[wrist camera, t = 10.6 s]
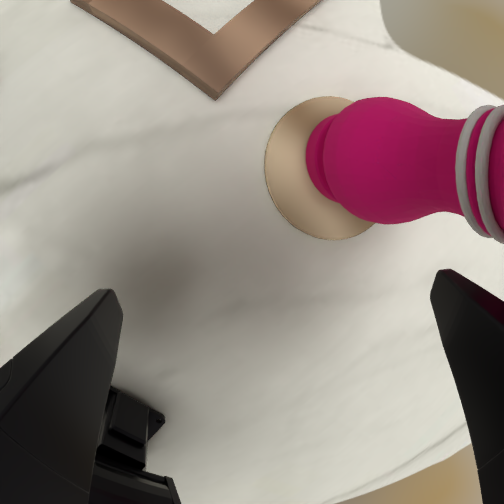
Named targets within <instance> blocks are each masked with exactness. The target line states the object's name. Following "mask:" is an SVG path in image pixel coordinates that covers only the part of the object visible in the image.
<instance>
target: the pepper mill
mask: <svg viewBox="0 0 504 504" xmlns="http://www.w3.org/2000/svg"><path fill="white" fill-rule="evenodd" d="M306 166H307V170H308V174H309V176H310V179H311V181H312V182H313V184H314V186H315V187H316V188H317V190H318V191H319V192H320V193H321V194H322V195H324V196H325V197H326V198H328V199H330V200H332V201H334V202H337V203H340V204H341V205H342V206H343V207H344V208H345V209H346V210H347V211H349V212H350V213H351V214H353V215H355V216H356V217H358V218H360V219H363V220H366V221H369V222H375V223H380V224H399V223H405V222H410V221H413V220H416V219H419V218H422V217H424V216H427V215H430V214H433V213H436V212H445V211H446V212H451V213H456V214H459V215H461V216H464V217H465V219H466V220H467V222H468V224H469V225H470V226H471V227H472V229H473V230H474V231H475V232H477V233H478V234H479V235H481V236H483V237H487V238H494V239H495V240H496V241H498V242H500V243H503V244H504V105H501V106H498V107H495V106H492V105H485V106H481V107H479V108H477V109H476V110H475V111H473V112H472V113H471V114H470V116H469V117H468V118H467V119H460V120H455V119H441V118H437V117H434V116H432V115H430V114H428V113H427V112H425V111H423V110H422V109H420V108H418V107H416V106H414V105H412V104H410V103H408V102H405V101H401V100H398V99H393V98H388V97H374V98H366V99H362V100H358V101H356V102H354V103H352V104H350V105H349V106H347V107H345V108H344V109H343V110H342V111H341V112H340V113H338V114H334V115H332V116H329V117H327V118H325V119H324V120H322V121H321V122H320V123H319V124H318V125H317V126H316V127H315V129H314V130H313V132H312V133H311V135H310V137H309V140H308V143H307V147H306Z"/></svg>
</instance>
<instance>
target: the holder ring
mask: <svg viewBox="0 0 504 504" xmlns="http://www.w3.org/2000/svg"><path fill="white" fill-rule="evenodd" d="M70 1H71V3H73V4H75V5H77V6H78V7H80V8H82V9H83V10H85V11H87V12H88V13H90V14H92V15H93V16H95V17H97V18H98V19H100V20H102V21H103V22H105V23H106V24H108V25H109V26H111V27H113V28H114V29H116V30H117V31H119V32H120V33H122V34H123V35H125V36H126V37H128V38H130V39H131V40H133V41H134V42H135V43H137V44H138V45H140V46H141V47H143V48H144V49H146V50H147V51H149V52H150V53H152V54H153V55H154V56H156V57H157V58H159V59H160V60H162V61H163V62H164V63H166V64H167V65H168V66H170V67H171V68H173V69H174V70H175V71H177V72H178V73H179V74H181V75H182V76H184V77H185V78H186V79H188V80H189V81H190V82H192V83H193V84H194V85H195V86H197V87H198V88H199V89H201V90H202V91H203V92H205V93H206V94H207V95H208V96H210V97H211V98H212V99H214V100H216V99H217V98H218V97H219V96H220V95H221V94H222V93H223V92H224V91H225V90H226V89H227V88H228V87H229V85H230V84H231V83H232V82H233V81H234V80H235V79H236V78H237V77H238V76H239V75H240V74H241V73H242V72H243V71H244V70H245V69H246V68H247V67H248V66H249V65H250V64H251V63H252V62H253V61H254V60H255V59H256V58H257V57H258V56H259V55H260V54H261V53H262V52H264V51H265V50H266V49H267V48H268V47H269V46H270V45H271V44H272V43H273V42H274V41H275V40H276V39H277V38H278V37H280V36H281V35H282V34H283V33H284V32H285V31H286V30H287V29H288V28H290V27H291V26H292V25H293V24H294V23H295V22H296V21H298V20H299V19H300V18H301V17H302V16H303V15H305V14H306V13H307V12H308V11H309V10H311V9H312V8H313V7H314V6H315V5H317V4H318V3H319V2H320V1H321V0H254V1H253V2H252V3H251V4H249V5H248V6H247V7H246V8H244V9H243V10H242V11H241V12H240V13H238V14H237V15H236V16H235V17H234V18H233V19H231V20H230V21H229V22H228V23H227V24H226V25H224V26H223V27H222V28H221V29H220V30H219V31H218V32H217V33H215V34H212V33H211V32H209V31H208V30H207V29H205V28H204V27H202V26H201V25H199V24H198V23H196V22H195V21H193V20H192V19H190V18H189V17H187V16H186V15H184V14H183V13H181V12H180V11H178V10H177V9H175V8H174V7H172V6H170V5H169V4H167V3H166V2H164V1H162V0H70Z"/></svg>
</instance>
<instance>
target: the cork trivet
mask: <svg viewBox="0 0 504 504" xmlns="http://www.w3.org/2000/svg"><path fill="white" fill-rule="evenodd" d="M352 103H354V102H352V101H350V100H347V99H344V98H340V97H332V96H328V97H318V98H313V99H310V100H307V101H305V102H303V103H301V104H299V105H297V106H295V107H294V108H293V109H291V110H290V111H288V112H287V113H286V114H285V115H284V116H283V117H282V118H281V120H280V121H279V122H278V123H277V125H276V126H275V128H274V130H273V132H272V134H271V136H270V139H269V141H268V144H267V149H266V154H265V176H266V182H267V186H268V189H269V192H270V195H271V197H272V199H273V201H274V203H275V205H276V207H277V208H278V210H279V211H280V212H281V214H282V215H283V216H284V217H285V218H286V219H287V220H288V221H289V222H290V223H291V224H292V225H294V226H295V227H296V228H298V229H299V230H301V231H303V232H305V233H307V234H309V235H312V236H314V237H317V238H321V239H326V240H342V239H347V238H351V237H354V236H356V235H359V234H361V233H362V232H364V231H366V230H367V229H369V228H370V227H371V226H372V225H373V224H374V223H375V222H369V221H366V220H363V219H360V218H358V217H356V216H355V215H353V214H351V213H350V212H349V211H347V210H346V209H345V208H344V207H343V206H342V205H341V204H340V203H337V202H334V201H332V200H330V199H328V198H326V197H325V196H324V195H322V194H321V193H320V192H319V191H318V190H317V188H316V187H315V186H314V184H313V182H312V181H311V179H310V176H309V174H308V170H307V166H306V147H307V143H308V140H309V137H310V135H311V133H312V132H313V130H314V129H315V127H316V126H317V125H318V124H319V123H320V122H321V121H322V120H324V119H325V118H327V117H329V116H332V115H334V114H338V113H340V112H341V111H342V110H343V109H344V108H345V107H347V106H349V105H350V104H352Z"/></svg>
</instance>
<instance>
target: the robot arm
mask: <svg viewBox="0 0 504 504" xmlns="http://www.w3.org/2000/svg"><path fill="white" fill-rule="evenodd" d="M430 300H431V304H432V308H433V311H434V315H435V318H436V322H437V325H438V329H439V333H440V337H441V341H442V344H443V347H444V350H445V353H446V356H447V359H448V362H449V365H450V368H451V371H452V374H453V377H454V380H455V383H456V386H457V390H458V393H459V396H460V400H461V403H462V407H463V410H464V414H465V418H466V421H467V425H468V429H469V433H470V437H471V442H472V446H473V450H474V455H475V460H476V465H477V469H478V476H479V482H480V488H481V494H482V501H483V504H504V301H502V300H501V299H499V298H497V297H496V296H494V295H493V294H491V293H490V292H488V291H486V290H485V289H483V288H482V287H480V286H478V285H477V284H475V283H474V282H472V281H470V280H469V279H467V278H465V277H464V276H462V275H460V274H459V273H457V272H455V271H454V270H452V269H443V270H439V271H438V272H437V274H436V277H435V280H434V283H433V286H432V289H431V293H430ZM122 321H123V312H122V309H121V306H120V304H119V302H118V299H117V297H116V294H115V292H114V291H113V290H112V289H98V290H97V291H96V292H94V293H93V294H92V295H90V296H89V297H88V298H86V299H85V300H84V301H82V302H81V303H80V304H79V305H77V306H76V307H75V308H73V309H72V310H71V311H69V312H68V313H67V314H66V315H64V316H63V317H62V318H61V319H59V320H58V321H57V322H56V323H54V324H53V325H52V326H50V327H49V328H48V329H47V330H45V331H44V332H43V333H42V334H41V335H39V336H38V337H37V338H36V339H34V340H33V341H32V342H31V343H30V344H28V345H27V346H26V347H25V348H23V349H22V350H21V351H20V352H19V353H18V354H16V355H15V356H14V357H13V359H10V360H9V361H8V362H7V363H6V364H4V365H3V366H2V367H1V368H0V504H181V501H180V499H179V496H178V493H177V490H176V487H175V484H174V481H173V479H172V478H170V477H167V476H164V477H163V476H159V475H156V474H152V473H149V472H146V458H147V442H148V440H149V439H150V438H151V437H152V436H153V435H154V434H155V433H156V432H157V431H158V430H159V429H160V428H161V427H162V426H163V424H164V423H165V417H164V415H162V414H160V413H158V412H156V411H155V410H153V409H151V408H149V407H147V406H145V405H143V404H141V403H140V402H138V401H136V400H134V399H132V398H131V397H129V396H127V395H125V394H124V393H122V392H120V391H118V390H116V389H115V388H113V387H111V386H110V384H111V380H112V376H113V372H114V368H115V363H116V358H117V351H118V345H119V338H120V332H121V326H122ZM157 419H161V420H157Z"/></svg>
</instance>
